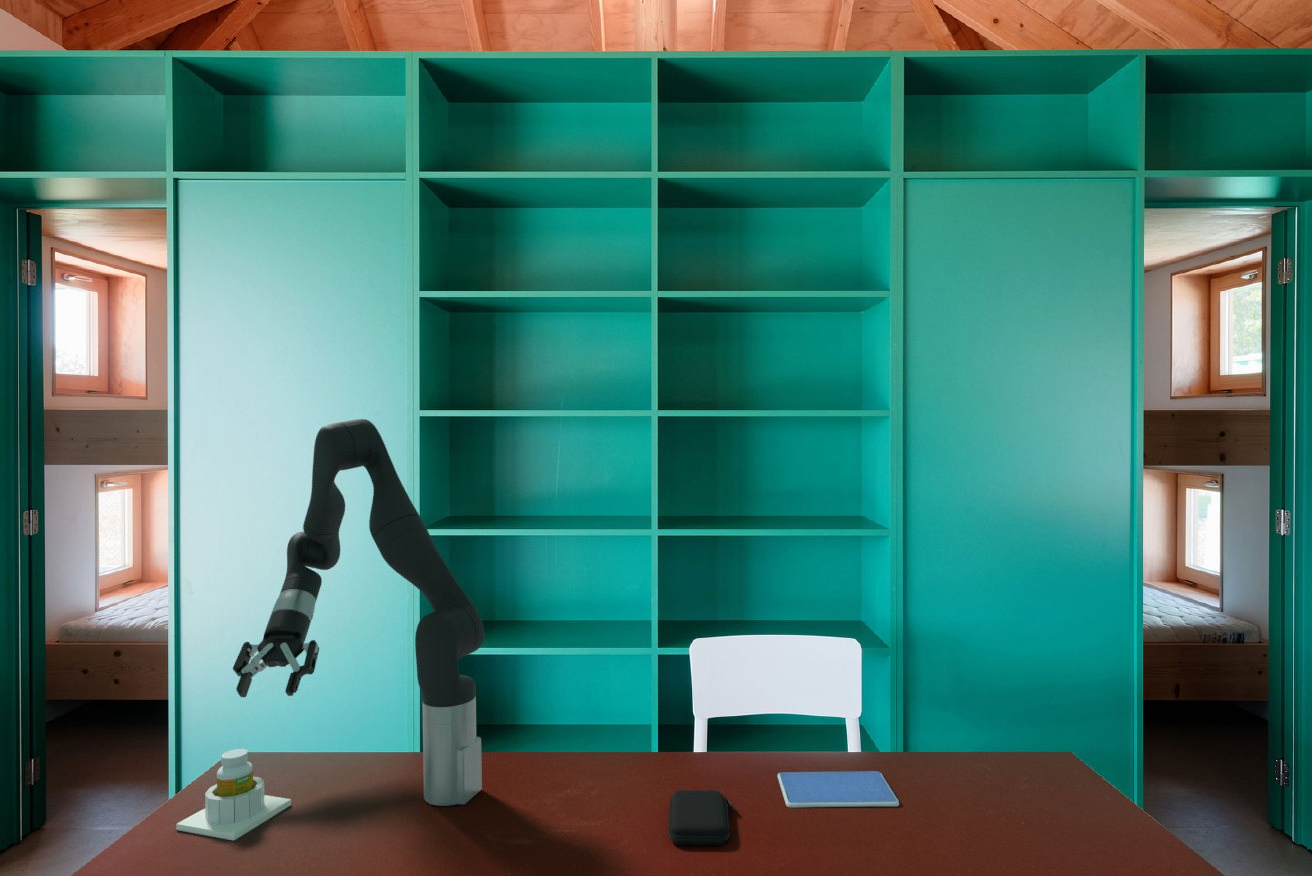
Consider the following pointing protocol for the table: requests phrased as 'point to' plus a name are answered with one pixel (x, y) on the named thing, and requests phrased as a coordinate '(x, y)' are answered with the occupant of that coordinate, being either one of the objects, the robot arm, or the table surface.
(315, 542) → the robot arm
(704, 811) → the carrying case or bag
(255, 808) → the sleeve holder
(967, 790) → the table surface
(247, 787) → the supplement bottle
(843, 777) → the tablet computer
